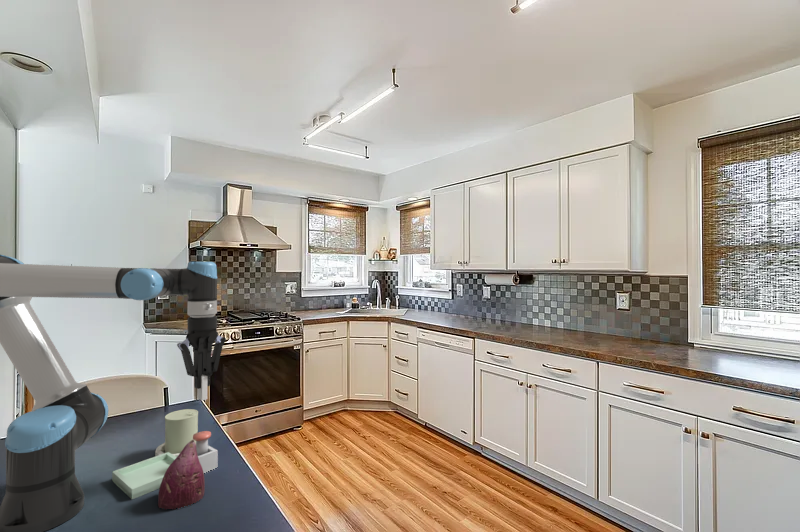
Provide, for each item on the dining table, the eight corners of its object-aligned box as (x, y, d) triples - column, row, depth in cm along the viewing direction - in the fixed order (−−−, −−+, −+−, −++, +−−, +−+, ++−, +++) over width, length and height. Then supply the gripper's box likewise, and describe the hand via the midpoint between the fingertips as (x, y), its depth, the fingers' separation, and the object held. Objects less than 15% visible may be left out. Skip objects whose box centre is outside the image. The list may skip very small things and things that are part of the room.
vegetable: (192, 495, 103) (204, 434, 107) (210, 505, 96) (222, 439, 100) (148, 503, 95) (162, 436, 99) (165, 514, 89) (179, 442, 93)
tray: (132, 499, 95) (132, 489, 95) (112, 480, 104) (112, 471, 104) (190, 475, 107) (190, 466, 107) (168, 460, 115) (168, 451, 115)
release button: (197, 462, 107) (197, 439, 107) (189, 457, 110) (189, 435, 110) (214, 455, 110) (214, 433, 111) (206, 451, 113) (206, 429, 113)
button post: (196, 477, 106) (196, 458, 106) (185, 470, 109) (186, 452, 109) (217, 468, 111) (217, 450, 111) (207, 461, 114) (207, 444, 114)
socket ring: (167, 466, 111) (167, 460, 111) (148, 453, 120) (148, 447, 120) (214, 449, 122) (214, 443, 122) (193, 437, 130) (193, 432, 130)
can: (187, 458, 116) (188, 418, 116) (157, 458, 116) (157, 418, 116) (204, 444, 125) (204, 407, 125) (175, 444, 126) (176, 407, 126)
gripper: (184, 319, 103) (184, 408, 103) (231, 314, 113) (231, 395, 113) (172, 317, 107) (172, 402, 107) (218, 312, 118) (218, 390, 118)
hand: (202, 398), depth 110 cm, fingers closed
